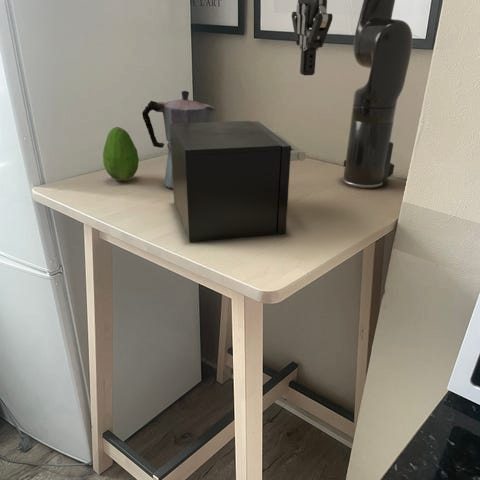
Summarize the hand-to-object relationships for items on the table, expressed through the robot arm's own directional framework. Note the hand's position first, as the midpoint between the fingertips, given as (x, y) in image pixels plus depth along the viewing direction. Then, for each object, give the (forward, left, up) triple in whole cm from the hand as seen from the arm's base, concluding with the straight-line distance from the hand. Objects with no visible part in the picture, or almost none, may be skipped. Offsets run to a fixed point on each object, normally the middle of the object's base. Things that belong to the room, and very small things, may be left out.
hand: (307, 74), depth 88 cm
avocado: (+33, -27, -25) cm, 50 cm away
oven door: (+5, +1, -25) cm, 26 cm away
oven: (+16, +1, -25) cm, 30 cm away
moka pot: (+20, -20, -25) cm, 38 cm away
